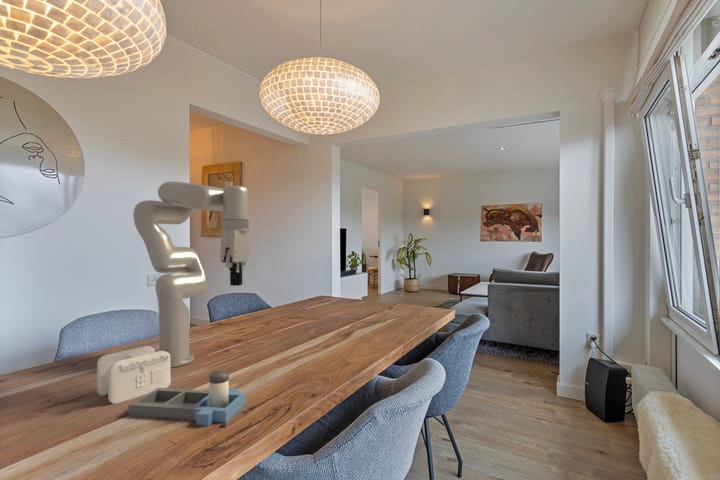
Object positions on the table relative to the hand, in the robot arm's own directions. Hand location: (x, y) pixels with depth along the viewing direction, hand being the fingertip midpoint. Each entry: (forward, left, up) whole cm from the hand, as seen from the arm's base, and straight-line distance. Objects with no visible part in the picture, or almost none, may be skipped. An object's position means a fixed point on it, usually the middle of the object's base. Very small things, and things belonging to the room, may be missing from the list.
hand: (236, 285), depth 110 cm
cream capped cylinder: (+7, -22, -28) cm, 36 cm away
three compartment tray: (-1, -22, -29) cm, 36 cm away
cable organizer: (-23, -14, -29) cm, 40 cm away
